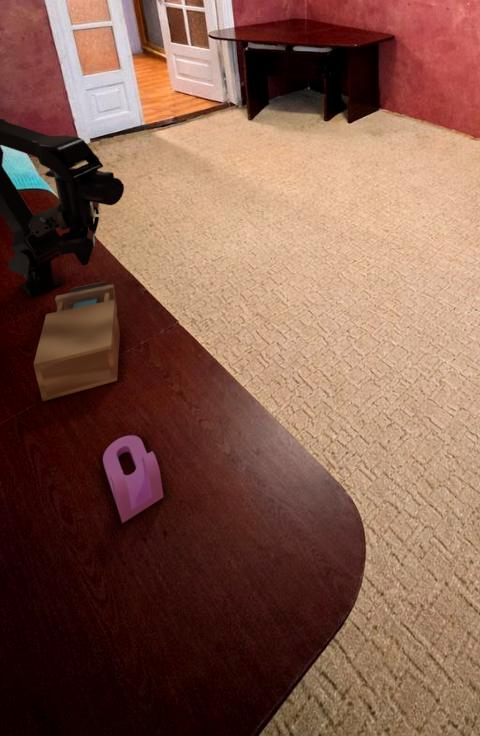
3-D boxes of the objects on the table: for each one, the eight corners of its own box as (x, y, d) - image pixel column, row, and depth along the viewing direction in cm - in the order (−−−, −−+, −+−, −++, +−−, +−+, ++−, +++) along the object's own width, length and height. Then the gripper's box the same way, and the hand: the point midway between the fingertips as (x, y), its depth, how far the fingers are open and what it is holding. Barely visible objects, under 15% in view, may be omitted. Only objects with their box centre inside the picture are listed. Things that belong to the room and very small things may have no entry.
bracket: (163, 497, 72) (158, 464, 70) (122, 523, 69) (115, 489, 66) (137, 435, 81) (132, 404, 79) (100, 455, 78) (93, 423, 75)
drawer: (64, 308, 107) (59, 282, 104) (118, 296, 111) (114, 272, 109) (52, 364, 93) (46, 336, 90) (114, 348, 97) (110, 321, 95)
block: (77, 318, 103) (73, 302, 101) (99, 313, 104) (97, 297, 103) (74, 331, 99) (71, 315, 98) (98, 326, 101) (95, 309, 100)
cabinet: (54, 348, 97) (46, 314, 94) (119, 332, 102) (114, 299, 99) (42, 401, 86) (33, 364, 83) (117, 380, 91) (110, 345, 88)
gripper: (36, 183, 107) (49, 243, 112) (18, 223, 91) (34, 291, 97) (95, 176, 112) (104, 234, 117) (87, 214, 96) (99, 279, 101)
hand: (86, 258), depth 108 cm, fingers open, 5 cm apart
